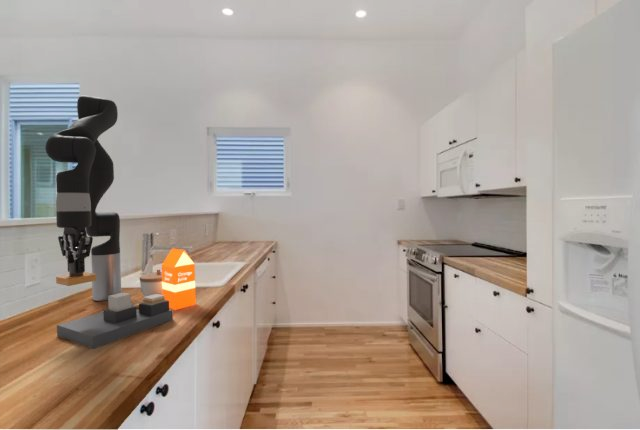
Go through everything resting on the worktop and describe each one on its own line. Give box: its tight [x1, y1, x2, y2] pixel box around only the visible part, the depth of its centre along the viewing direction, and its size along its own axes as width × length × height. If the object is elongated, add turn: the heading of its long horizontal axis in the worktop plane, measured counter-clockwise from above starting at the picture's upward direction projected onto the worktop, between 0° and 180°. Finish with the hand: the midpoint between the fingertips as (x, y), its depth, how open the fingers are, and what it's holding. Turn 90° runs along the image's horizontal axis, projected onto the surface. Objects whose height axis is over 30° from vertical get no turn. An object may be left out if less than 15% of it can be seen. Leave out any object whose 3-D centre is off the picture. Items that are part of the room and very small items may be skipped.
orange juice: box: [161, 247, 197, 311], centre depth 110 cm, size 8×9×20 cm
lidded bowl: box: [139, 269, 162, 297], centre depth 119 cm, size 13×13×11 cm
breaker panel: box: [56, 300, 173, 350], centre depth 90 cm, size 18×22×6 cm
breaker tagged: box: [142, 294, 165, 305], centre depth 94 cm, size 4×4×4 cm
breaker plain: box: [107, 292, 132, 312], centre depth 89 cm, size 4×4×4 cm
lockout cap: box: [55, 262, 96, 287], centre depth 86 cm, size 7×7×5 cm
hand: (76, 272), depth 86 cm, fingers closed on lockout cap, 3 cm apart
